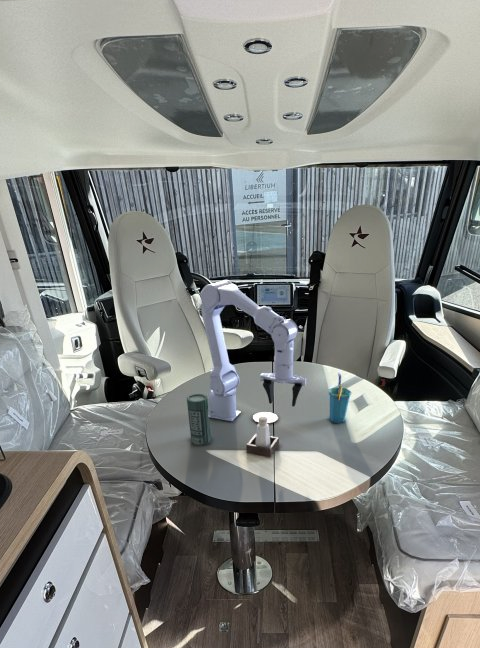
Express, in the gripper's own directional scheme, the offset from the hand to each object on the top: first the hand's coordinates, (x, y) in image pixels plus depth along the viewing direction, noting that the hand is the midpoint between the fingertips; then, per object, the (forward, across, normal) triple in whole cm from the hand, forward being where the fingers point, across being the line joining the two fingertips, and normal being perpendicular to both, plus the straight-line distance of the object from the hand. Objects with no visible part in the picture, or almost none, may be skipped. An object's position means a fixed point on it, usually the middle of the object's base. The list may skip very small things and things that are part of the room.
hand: (282, 403), depth 144 cm
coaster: (+10, -8, +8) cm, 16 cm away
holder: (+10, -3, -13) cm, 17 cm away
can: (+10, -24, -14) cm, 29 cm away
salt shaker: (+10, -3, -13) cm, 17 cm away
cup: (+10, +16, +16) cm, 25 cm away
